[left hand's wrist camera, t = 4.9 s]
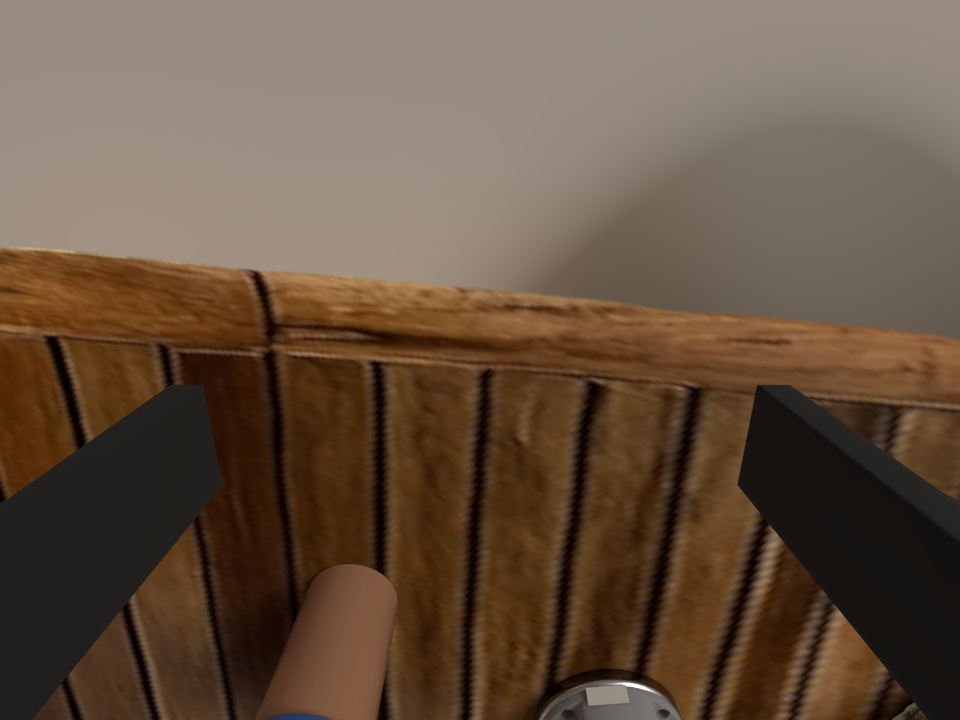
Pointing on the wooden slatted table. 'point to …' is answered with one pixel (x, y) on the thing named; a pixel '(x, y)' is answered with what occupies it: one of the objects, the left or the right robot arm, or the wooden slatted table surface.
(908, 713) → the fossil
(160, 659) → the wooden slatted table surface
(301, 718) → the lid
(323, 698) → the jar
